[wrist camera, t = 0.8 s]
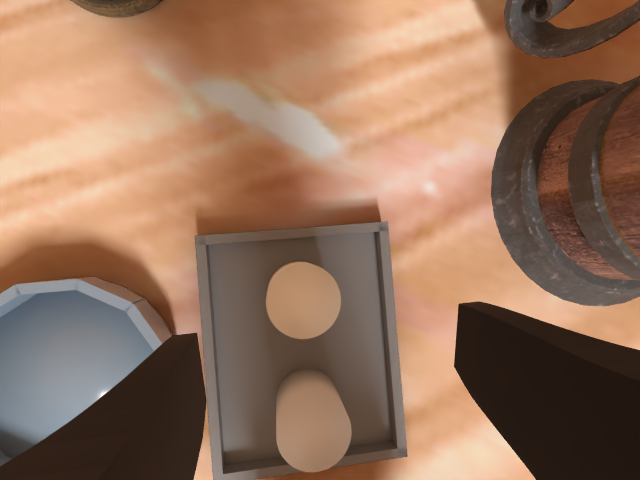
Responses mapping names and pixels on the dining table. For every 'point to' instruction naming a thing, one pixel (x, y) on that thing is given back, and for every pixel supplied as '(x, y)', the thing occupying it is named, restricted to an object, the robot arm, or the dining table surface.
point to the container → (117, 6)
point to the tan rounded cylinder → (311, 421)
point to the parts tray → (297, 343)
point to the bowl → (66, 352)
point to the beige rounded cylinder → (302, 300)
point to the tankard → (572, 168)
